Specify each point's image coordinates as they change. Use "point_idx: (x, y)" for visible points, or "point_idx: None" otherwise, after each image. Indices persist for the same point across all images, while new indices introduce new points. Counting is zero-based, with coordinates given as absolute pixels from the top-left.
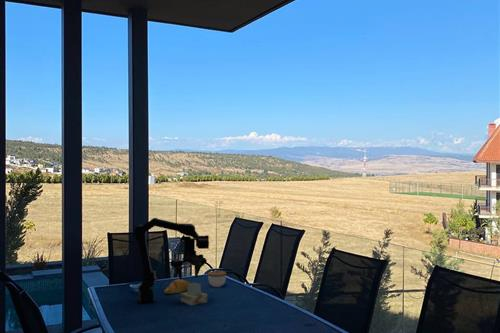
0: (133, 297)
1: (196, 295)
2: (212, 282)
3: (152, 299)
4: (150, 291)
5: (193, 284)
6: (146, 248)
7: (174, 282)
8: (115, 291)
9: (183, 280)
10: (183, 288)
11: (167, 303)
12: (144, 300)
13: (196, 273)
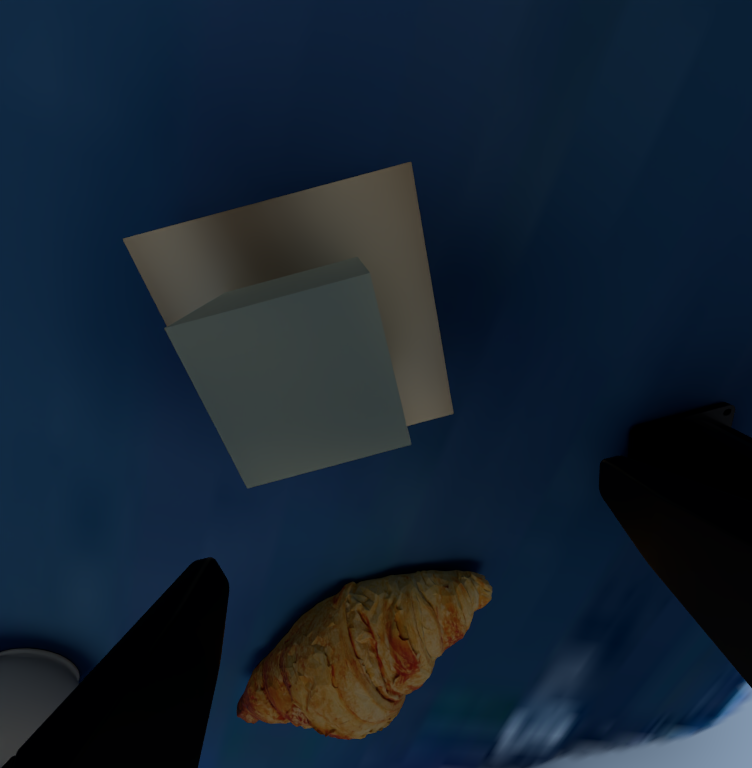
0: None
1: (302, 236)
2: (45, 694)
3: (634, 456)
4: (738, 486)
5: (322, 367)
6: None
7: (395, 693)
8: (680, 665)
9: (320, 711)
10: (333, 614)
11: (562, 346)
12: (720, 428)
13: (163, 665)
